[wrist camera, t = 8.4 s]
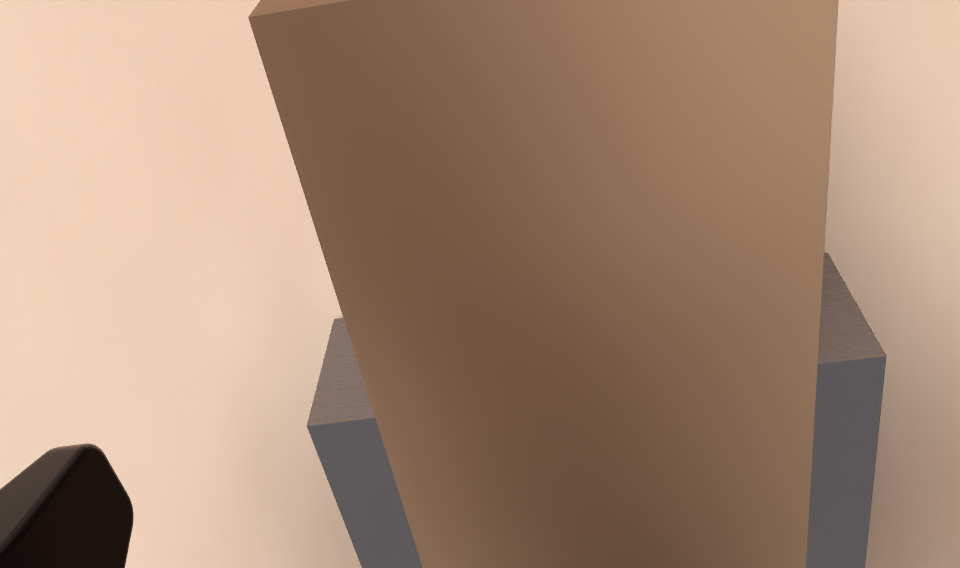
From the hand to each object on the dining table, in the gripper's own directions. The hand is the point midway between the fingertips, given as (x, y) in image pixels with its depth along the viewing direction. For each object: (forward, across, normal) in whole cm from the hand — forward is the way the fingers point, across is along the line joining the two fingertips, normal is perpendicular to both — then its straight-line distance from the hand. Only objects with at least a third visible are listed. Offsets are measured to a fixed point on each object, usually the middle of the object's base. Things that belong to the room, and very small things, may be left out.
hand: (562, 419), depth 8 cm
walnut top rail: (+8, 0, +3) cm, 9 cm away
